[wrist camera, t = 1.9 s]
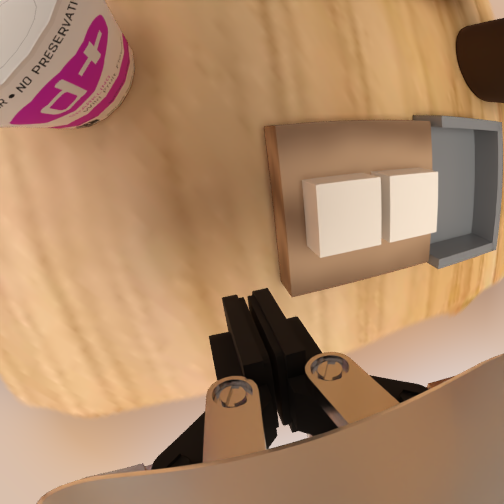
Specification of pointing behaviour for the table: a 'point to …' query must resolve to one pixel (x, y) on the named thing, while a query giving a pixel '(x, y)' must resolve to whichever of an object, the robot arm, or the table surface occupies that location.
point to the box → (465, 187)
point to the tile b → (408, 202)
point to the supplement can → (61, 63)
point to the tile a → (342, 213)
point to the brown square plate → (331, 164)
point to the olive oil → (483, 59)
